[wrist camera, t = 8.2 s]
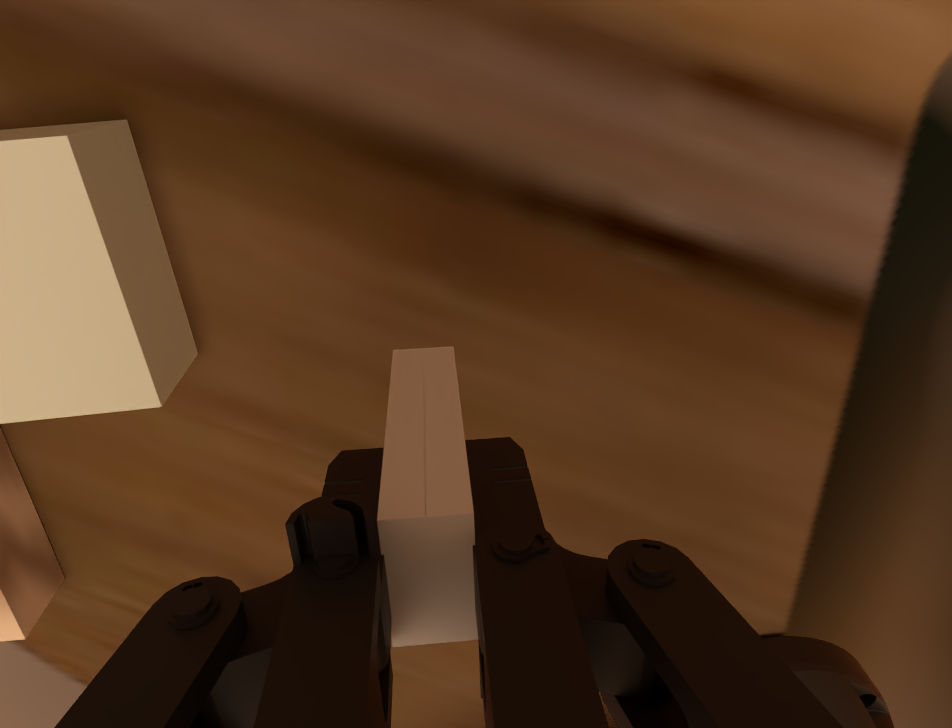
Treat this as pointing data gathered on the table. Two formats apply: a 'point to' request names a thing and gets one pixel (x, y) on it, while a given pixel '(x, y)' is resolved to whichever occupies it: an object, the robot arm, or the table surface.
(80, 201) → the block
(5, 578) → the board
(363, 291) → the table surface
